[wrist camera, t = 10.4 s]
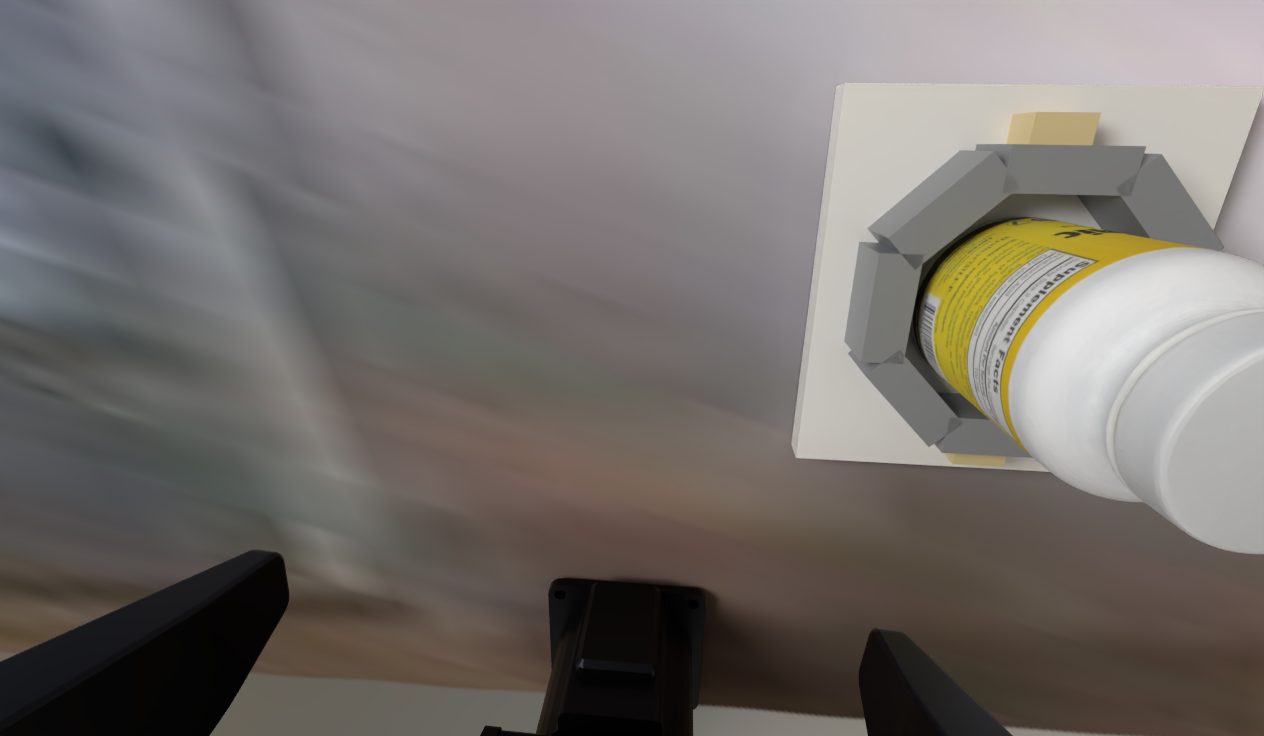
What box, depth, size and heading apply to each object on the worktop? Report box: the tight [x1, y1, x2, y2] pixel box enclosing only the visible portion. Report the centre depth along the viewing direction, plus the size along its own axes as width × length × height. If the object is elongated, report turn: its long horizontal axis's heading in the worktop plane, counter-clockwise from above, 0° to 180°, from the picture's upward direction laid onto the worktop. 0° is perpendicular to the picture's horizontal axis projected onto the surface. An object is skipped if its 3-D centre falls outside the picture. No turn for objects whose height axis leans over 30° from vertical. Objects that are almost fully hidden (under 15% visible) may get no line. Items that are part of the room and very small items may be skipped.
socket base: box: [791, 83, 1264, 472], centre depth 18 cm, size 12×11×3 cm
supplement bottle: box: [910, 216, 1264, 554], centre depth 14 cm, size 5×5×10 cm
